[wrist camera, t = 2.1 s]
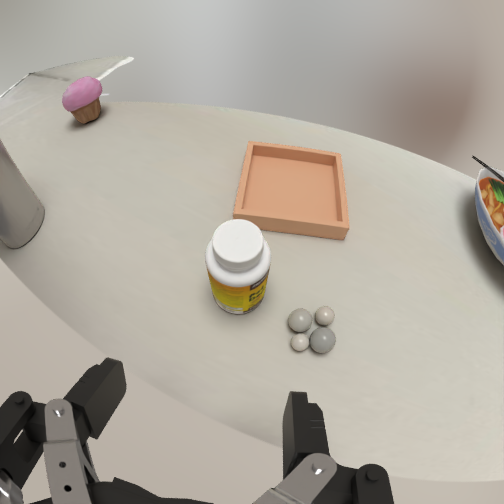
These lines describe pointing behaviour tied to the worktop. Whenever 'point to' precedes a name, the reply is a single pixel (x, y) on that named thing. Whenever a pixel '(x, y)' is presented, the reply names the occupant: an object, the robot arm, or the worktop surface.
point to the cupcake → (83, 99)
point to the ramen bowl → (491, 207)
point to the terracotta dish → (293, 191)
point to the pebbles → (320, 338)
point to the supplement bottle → (238, 265)
